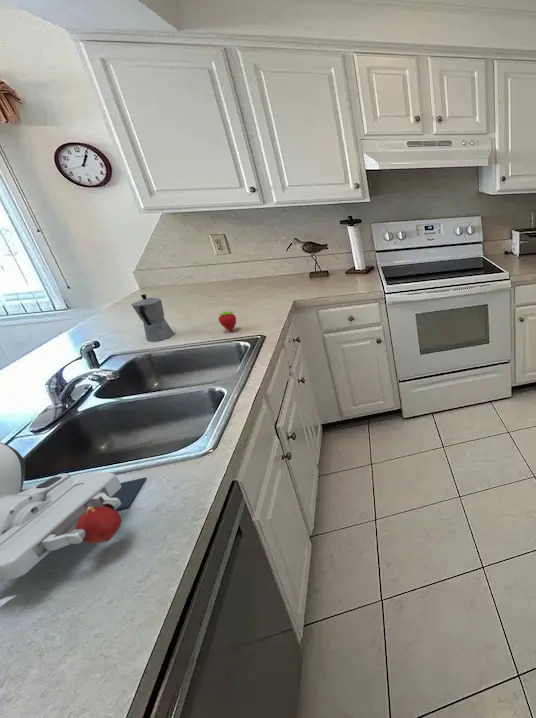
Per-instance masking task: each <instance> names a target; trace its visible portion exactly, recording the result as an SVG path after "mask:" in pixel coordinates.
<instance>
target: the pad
mask: <svg viewBox="0 0 536 718" xmlns="http://www.w3.org/2000/svg"><path fill="white" fill-rule="evenodd" d="M147 478H148V477H146V476H145V477H140V478H137V479H131V480H127V481H122V482H120V484H121V488H120V489H119V490H118V491H117V492H116V493H115V494H114V495H113V496H112V497H110V498H118V499H119V500H120V502H121V505H120V506H119V507H118V508H116V509H115V510H116V511H117V512H119V511H122V510H126V509H130V508H131V506H132V505H133V503H134V501H135V499H136V498H137V496H138V494H139V492H140V491H141V489H142V488H143V486H142V485H144V484H145V482H146V480H147Z"/></svg>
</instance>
